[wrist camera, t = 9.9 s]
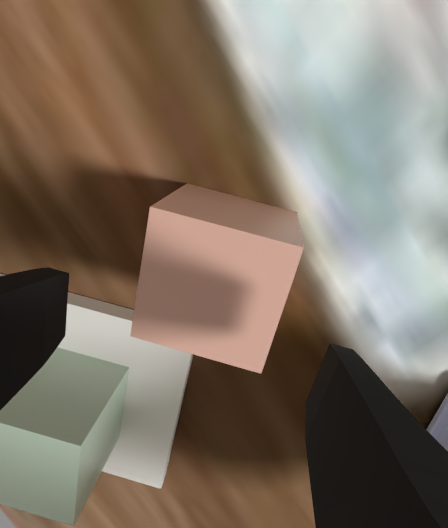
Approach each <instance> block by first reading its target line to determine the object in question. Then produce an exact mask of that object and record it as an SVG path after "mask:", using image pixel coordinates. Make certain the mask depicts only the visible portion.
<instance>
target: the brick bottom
mask: <svg viewBox="0 0 448 528" xmlns="http://www.w3.org/2000/svg"><path fill="white" fill-rule="evenodd" d="M128 374H129V367H127V366H123V365H120V364H116V363H112V362H109V361H105V360H102V359H98V358H94V357H91V356H87V355H84V354H80V353H76V352H73V351H69V350H66V349H62V348H58V347H57V348H56V350H55V351H54V353H53V354H52V355H51V356H50V358H49V359H48V360H47V362H46V363H45V364H44V366H43V367H42V368H41V369H40V370H39V371H38V372H37V373H36V374H35V375H34V376H33V377H32V378H31V379H30V380H29V381H28V382H27V384H26V385H25V386H24V387H23V388H22V389H21V390H20V391H19V392H18V393H17V394H16V395H15V396H14V397H13V398H12V399H11V400H10V401H9V402H8V403H7V404H6V405H5V406H4V407H3V408H2V409H1V410H0V504H2V505H6V506H9V507H12V508H16V509H19V510H22V511H25V512H29V513H32V514H35V515H39V516H42V517H45V518H48V519H52V520H55V521H58V522H62V523H65V524H68V525H71V526H74V524H75V523H76V521H77V519H78V517H79V515H80V513H81V511H82V509H83V507H84V505H85V503H86V501H87V499H88V497H89V495H90V493H91V491H92V489H93V487H94V486H95V484H96V482H97V480H98V478H99V476H100V474H101V472H102V470H103V468H104V466H105V464H106V462H107V460H108V458H109V456H110V454H111V452H112V450H113V448H114V447H115V445H116V443H117V441H118V439H119V437H120V430H121V423H122V416H123V409H124V402H125V395H126V388H127V381H128Z"/></svg>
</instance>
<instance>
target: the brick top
mask: <svg viewBox="0 0 448 528" xmlns="http://www.w3.org/2000/svg"><path fill="white" fill-rule="evenodd" d="M303 249H304V246H303V240H302V235H301V230H300V225H299V219H298V214H297V212H294V211H291V210H287V209H283V208H279V207H275V206H272V205H268V204H264V203H260V202H256V201H252V200H249V199H245V198H241V197H237V196H233V195H230V194H226V193H222V192H218V191H214V190H210V189H207V188H203V187H199V186H195V185H191V184H188V183H187V184H185V185H184V186H182V187H180V188H179V189H177V190H176V191H174V192H172V193H171V194H169V195H168V196H166V197H165V198H163V199H161V200H160V201H158V202H157V203H155V204H153V205H152V206H150V210H149V217H148V223H147V230H146V236H145V243H144V249H143V256H142V262H141V269H140V275H139V282H138V288H137V295H136V301H135V308H134V314H133V320H132V327H131V333H130V336H131V337H134V338H138V339H141V340H145V341H148V342H152V343H155V344H159V345H162V346H166V347H169V348H173V349H176V350H180V351H183V352H187V353H190V354H194V355H197V356H201V357H204V358H208V359H211V360H215V361H218V362H222V363H225V364H229V365H232V366H236V367H239V368H243V369H246V370H250V371H253V372H257V373H260V374H261V373H262V370H263V367H264V364H265V361H266V358H267V355H268V352H269V349H270V347H271V344H272V341H273V338H274V335H275V332H276V329H277V326H278V323H279V320H280V317H281V314H282V311H283V308H284V305H285V302H286V299H287V296H288V293H289V290H290V287H291V284H292V281H293V279H294V276H295V273H296V270H297V267H298V264H299V261H300V258H301V255H302V252H303Z"/></svg>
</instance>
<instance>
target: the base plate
mask: <svg viewBox="0 0 448 528" xmlns="http://www.w3.org/2000/svg"><path fill="white" fill-rule="evenodd" d="M0 276H4V274H1V273H0ZM133 314H134V310H132V309H129V308H125V307H121V306H118V305H114V304H110V303H107V302H103V301H99V300H96V299H92V298H88V297H85V296H81V295H77V294H74V293H70V292H68V300H67V317H66V333H65V337H64V338H63V340H62V341H61V343H60V344H59V345H58V348H62V349H66V350H69V351H73V352H76V353H80V354H84V355H87V356H91V357H94V358H98V359H102V360H105V361H109V362H112V363H116V364H120V365H123V366H127V367H129V374H128V381H127V388H126V395H125V402H124V409H123V416H122V423H121V430H120V437H119V439H118V441H117V443H116V445H115V447H114V448H113V450H112V452H111V454H110V456H109V458H108V460H107V462H106V464H105V466H104V468H103V470H102V471H103V472H106V473H110V474H113V475H116V476H120V477H123V478H126V479H130V480H133V481H136V482H140V483H143V484H146V485H150V486H153V487H156V488H160V489H161V487H162V484H163V481H164V478H165V475H166V471H167V467H168V462H169V458H170V454H171V449H172V445H173V441H174V436H175V432H176V428H177V423H178V419H179V415H180V410H181V406H182V402H183V397H184V393H185V389H186V384H187V380H188V376H189V371H190V367H191V362H192V358H193V354H190V353H187V352H183V351H180V350H176V349H173V348H169V347H166V346H162V345H159V344H155V343H152V342H148V341H145V340H141V339H138V338H134V337H131V336H130V333H131V327H132V320H133Z"/></svg>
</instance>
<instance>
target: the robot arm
mask: <svg viewBox="0 0 448 528" xmlns="http://www.w3.org/2000/svg"><path fill="white" fill-rule="evenodd" d="M68 284H69V273H66V272H63V271H59V270H55V269H52V268H39V269H33V270H28V271H23V272H18V273H13V274H9V275H4V276H0V410H1V409H2V408H3V407H4V406H5V405H6V404H7V403H8V402H9V401H10V400H11V399H12V398H13V397H14V396H15V395H16V394H17V393H18V392H19V391H20V390H21V389H22V388H23V387H24V386H25V385H26V384H27V382H28V381H29V380H30V379H31V378H32V377H33V376H34V375H35V374H36V373H37V372H38V371H39V370H40V369H41V368H42V367H43V366H44V364H45V363H46V362H47V360H48V359H49V358H50V356H51V355H52V354H53V353H54V351H55V350H56V348H57V347H58V345H59V344H60V343H61V341H62V340H63V338H64V337H65V333H66V317H67V300H68ZM306 449H307V458H308V467H309V475H310V484H311V492H312V500H313V508H314V517H315V525H316V528H448V394H447V395H446V397H445V399H444V400H443V402H442V404H441V406H440V407H439V409H438V411H437V412H436V414H435V416H434V417H433V419H432V421H431V422H430V424H429V426H428V428H427V429H425V428H424V427H423V426H422V425H421V424H420V423H419V422H418V421H417V420H416V418H415V417H414V416H413V415H412V414H411V413H410V412H409V411H408V410H407V409H406V408H405V407H404V406H403V404H402V403H401V402H400V401H399V400H398V399H397V398H396V397H395V396H394V394H393V393H392V392H391V391H390V390H389V389H388V388H387V387H386V385H385V384H384V383H383V382H382V381H381V380H380V379H379V377H378V376H377V375H376V374H375V373H374V372H373V371H372V369H371V368H370V367H369V366H368V365H367V364H366V363H365V362H364V360H363V359H362V358H361V357H360V356H359V355H358V354H357V353H356V352H355V351H354V350H352V349H348V348H345V347H341V346H337V345H334V344H329V347H328V349H327V352H326V354H325V357H324V359H323V362H322V364H321V367H320V369H319V372H318V374H317V377H316V379H315V382H314V384H313V387H312V389H311V392H310V394H309V397H308V399H307V402H306Z"/></svg>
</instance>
